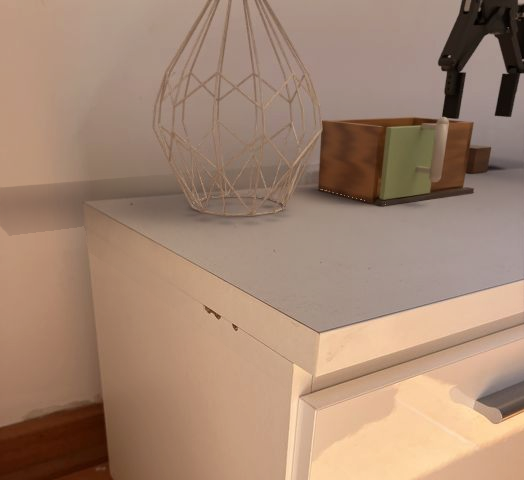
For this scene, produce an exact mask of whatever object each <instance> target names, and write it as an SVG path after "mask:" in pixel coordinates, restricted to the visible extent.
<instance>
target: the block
mask: <svg viewBox="0 0 524 480" xmlns="http://www.w3.org/2000/svg"><path fill="white" fill-rule="evenodd" d="M491 152H492V147H491V146H487V145H486V146H485V145H477V144H470V149H469V155H468V161H467V167H466V173H465V174H471V175H473V174H481V173H487V172H488V168H489V164H490V157H491Z"/></svg>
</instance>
